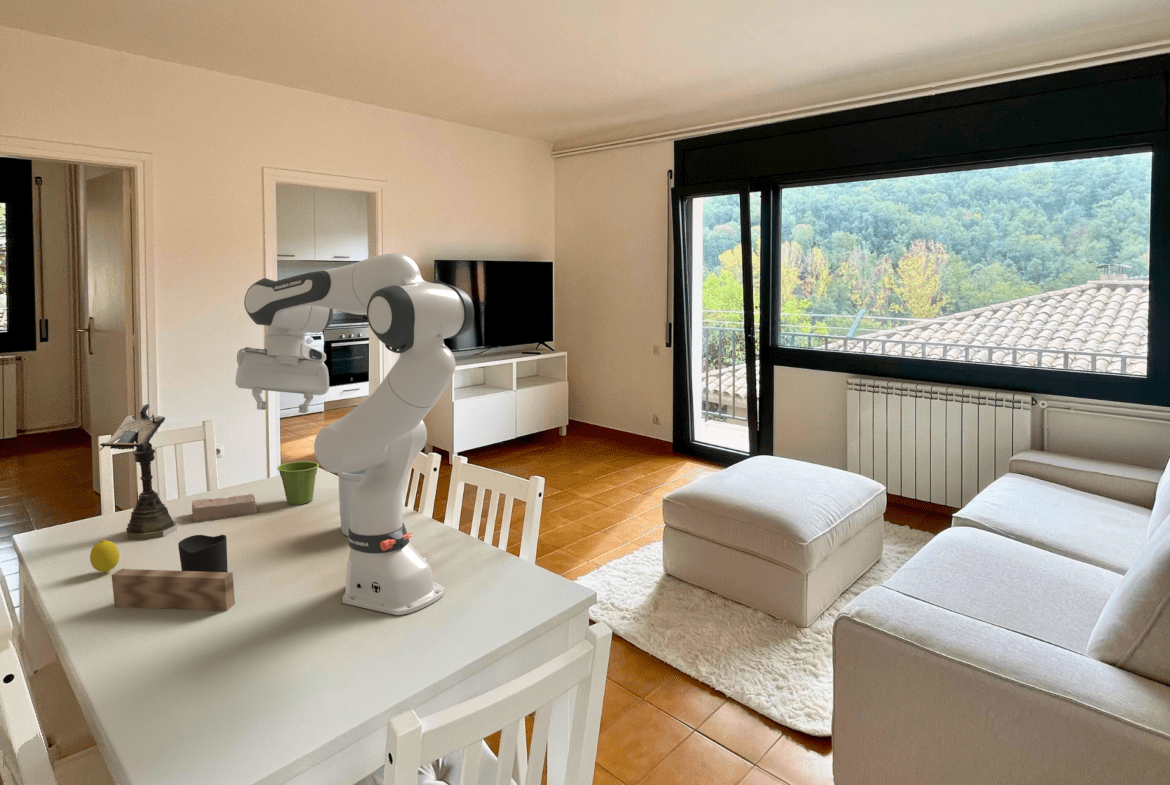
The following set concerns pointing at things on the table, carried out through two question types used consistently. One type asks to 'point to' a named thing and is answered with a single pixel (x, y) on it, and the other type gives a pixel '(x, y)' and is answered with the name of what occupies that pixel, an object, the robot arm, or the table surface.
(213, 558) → the pen holder
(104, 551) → the lemon
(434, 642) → the table surface
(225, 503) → the brick
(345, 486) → the utensil holder
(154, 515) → the ornate lectern
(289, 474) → the plant pot
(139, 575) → the walnut board
